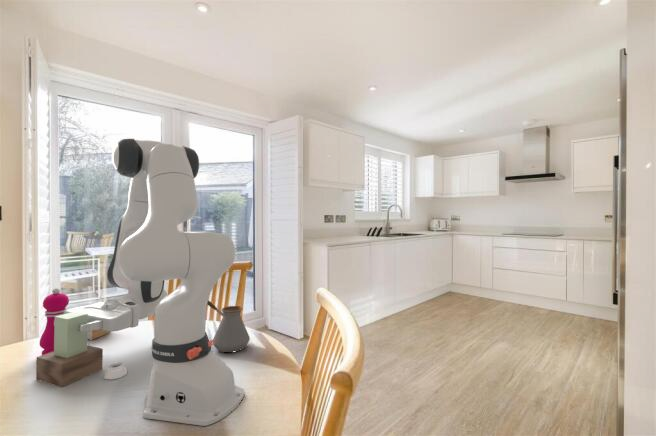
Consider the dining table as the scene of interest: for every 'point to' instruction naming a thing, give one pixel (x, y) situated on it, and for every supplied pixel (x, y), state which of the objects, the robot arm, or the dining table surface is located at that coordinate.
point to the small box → (97, 333)
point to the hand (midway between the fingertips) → (67, 326)
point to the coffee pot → (230, 330)
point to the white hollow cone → (115, 371)
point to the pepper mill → (52, 318)
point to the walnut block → (68, 366)
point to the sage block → (70, 334)
